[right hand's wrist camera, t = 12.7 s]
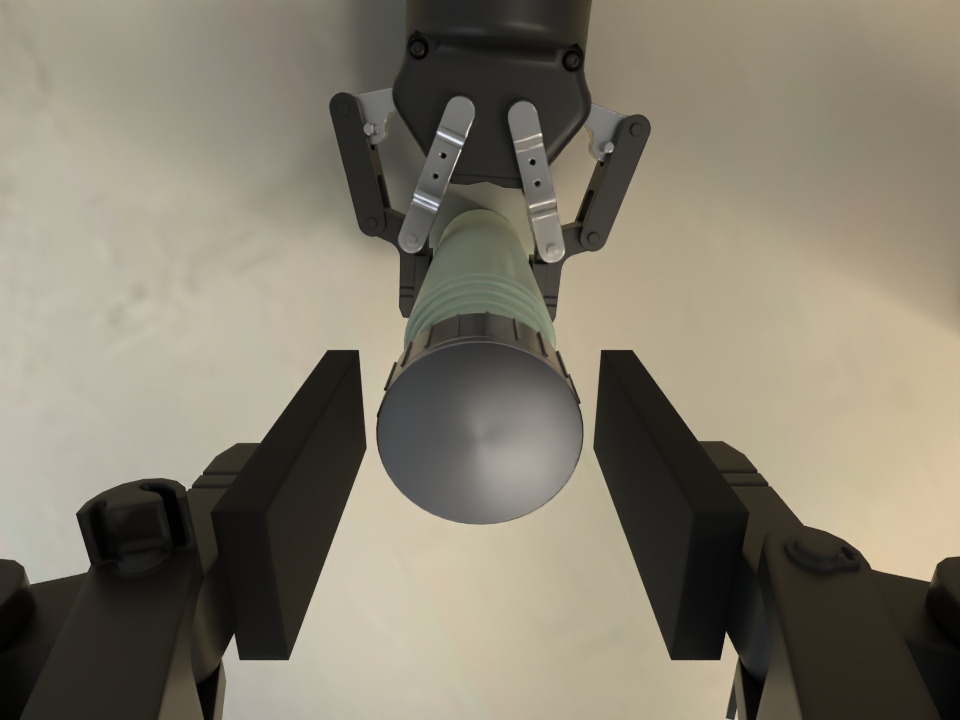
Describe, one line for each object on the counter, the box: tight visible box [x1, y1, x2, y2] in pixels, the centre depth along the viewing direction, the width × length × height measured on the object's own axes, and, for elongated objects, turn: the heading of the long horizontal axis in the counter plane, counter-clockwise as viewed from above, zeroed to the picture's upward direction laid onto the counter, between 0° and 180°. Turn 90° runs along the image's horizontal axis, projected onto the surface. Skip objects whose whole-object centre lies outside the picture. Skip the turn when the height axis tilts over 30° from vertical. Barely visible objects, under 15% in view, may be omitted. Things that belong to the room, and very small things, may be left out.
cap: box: [376, 311, 583, 524], centre depth 14 cm, size 5×5×2 cm
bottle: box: [404, 209, 556, 351], centre depth 23 cm, size 5×5×22 cm
